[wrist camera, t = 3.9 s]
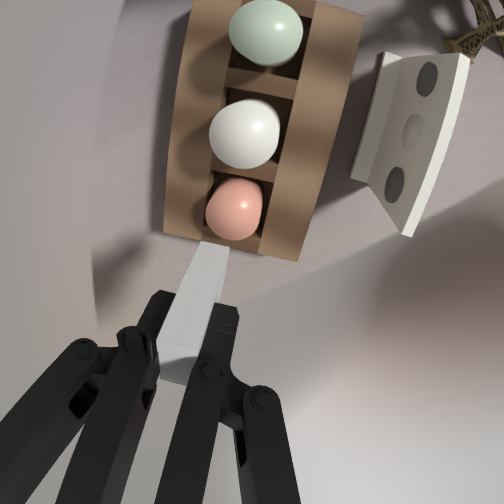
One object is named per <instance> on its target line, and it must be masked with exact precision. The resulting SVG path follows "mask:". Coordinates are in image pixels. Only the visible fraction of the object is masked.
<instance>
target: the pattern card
mask: <svg viewBox="0 0 504 504" xmlns="http://www.w3.org/2000/svg"><path fill="white" fill-rule="evenodd" d="M469 64H470V59H469V58H468V57H466V56H465V55H463V54H461V53H447V54H435V55H425V56H416V57H408V58H401V57H399V56H396V55H394V54H392V53H389V52H387V51H384V52H383V56H382V61H381V65H380V69H379V73H378V77H377V81H376V85H375V89H374V93H373V97H372V100H371V104H370V108H369V111H368V115H367V119H366V122H365V126H364V129H363V133H362V136H361V139H360V143H359V146H358V149H357V153H356V156H355V159H354V162H353V166H352V169H351V172H350V175H349V177H350V178H352V179H355V180H358V181H362V182H365V183H367V184H368V185H369V187H370V188H371V190H372V191H373V192H374V194H375V195H376V197H377V198H378V200H379V201H380V203H381V204H382V205H383V207H384V208H385V210H386V211H387V213H388V214H389V216H390V217H391V219H392V220H393V222H394V224H395V225H396V227H397V228H398V230H399V231H400V233H401V234H402V235H406V236H409V237H412V235H413V233H414V231H415V229H416V226H417V224H418V222H419V220H420V217H421V215H422V213H423V210H424V208H425V206H426V203H427V201H428V198H429V196H430V194H431V191H432V189H433V186H434V183H435V181H436V178H437V176H438V173H439V170H440V167H441V165H442V162H443V159H444V156H445V153H446V150H447V147H448V144H449V141H450V138H451V135H452V132H453V128H454V125H455V122H456V118H457V115H458V111H459V107H460V104H461V100H462V96H463V92H464V88H465V83H466V79H467V74H468V69H469Z"/></svg>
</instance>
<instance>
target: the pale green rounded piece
mask: <svg viewBox="0 0 504 504" xmlns="http://www.w3.org/2000/svg"><path fill="white" fill-rule="evenodd" d="M302 35H303V26H302V22H301V20H300V18H299V16H298V14H297V13H296V12H295V11H294V10H293V9H292V8H291V7H290V6H288V5H287V4H285V3H283V2H280V1H277V0H254V1H251V2H249V3H247V4H245V5H243V6H242V7H240V8H239V9H238V10H237V11H236V12H235V13H234V15H233V16H232V18H231V21H230V24H229V37H230V40H231V42H232V44H233V46H234V47H235V49H236V50H237V51H238V52H239V53H241V54H242V55H243V56H245V57H246V58H248V59H249V60H251V61H252V62H254V63H256V64H257V65H260V66H264V67H277V66H281V65H284V64H286V63H287V62H289V61H290V60H291V59H292V58H293V57H294V56H295V54H296V53H297V51H298V48H299V45H300V42H301V39H302Z"/></svg>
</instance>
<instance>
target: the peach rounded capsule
mask: <svg viewBox="0 0 504 504" xmlns="http://www.w3.org/2000/svg"><path fill="white" fill-rule="evenodd" d="M263 199H264V187H263V184H262V182H261V181H260V180H259V179H255V178H250V177H245V176H240V175H235V174H230V173H229V174H228V175H226V176H225V177H224V178H223V180H222V181H221V183H220V185H219V186H218V188H217V189H216V191H215V193H214V194H213V196H212V198H211V199H210V201H209V203H208V205H207V207H206V213H205V215H206V221H207V224H208V225H209V227H210V229H211V230H212V231H213V232H214V233H215V234H216V235H218V236H220V237H221V238H224V239H227V240H242V239H245V238H247V237H249V236H250V235H252V234H253V233H254V232H255V230H256V229H257V227H258V224H259V220H260V215H261V210H262V204H263Z"/></svg>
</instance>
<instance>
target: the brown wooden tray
mask: <svg viewBox="0 0 504 504" xmlns="http://www.w3.org/2000/svg"><path fill="white" fill-rule="evenodd" d="M251 1H254V0H193V4H192V9H191V13H190V17H189V22H188V27H187V31H186V36H185V41H184V47H183V52H182V57H181V63H180V69H179V75H178V81H177V88H176V94H175V101H174V109H173V116H172V124H171V133H170V142H169V152H168V163H167V174H166V188H165V203H164V223H163V233H167V234H172V235H176V236H181V237H185V238H190V239H194V240H199V241H204V242H209V243H213V244H218V245H222V246H227V247H231V248H235V249H240V250H244V251H249V252H253V253H258V254H263V255H267V256H272V257H276V258H281V259H285V260H290V261H294V262H297V261H298V258H299V255H300V252H301V249H302V246H303V243H304V240H305V237H306V233H307V230H308V227H309V224H310V221H311V218H312V215H313V211H314V208H315V205H316V202H317V198H318V195H319V192H320V188H321V185H322V182H323V178H324V175H325V172H326V168H327V165H328V161H329V158H330V154H331V151H332V147H333V144H334V140H335V137H336V133H337V129H338V126H339V122H340V118H341V115H342V111H343V107H344V103H345V99H346V95H347V92H348V88H349V84H350V80H351V76H352V72H353V67H354V63H355V59H356V55H357V50H358V46H359V42H360V37H361V33H362V28H363V24H364V19H365V15H362V14H359V13H356V12H353V11H350V10H346V9H343V8H340V7H336V6H333V5H329V4H326V3H322V2H318V1H314V0H277V1H280V2H283V3H285V4H287V5H288V6H290V7H291V8H292V9H293V10H294V11H295V12H296V13H297V14H298V16H299V18H300V20H301V22H302V26H303V35H302V39H301V42H300V45H299V48H298V51H297V53H296V54H295V56H294V57H293V58H292V59H291V60H290V61H289V62H287V63H286V64H284V65H281V66H277V67H264V66H260V65H257V64H256V63H254V62H252V61H251V60H249V59H248V58H246V57H245V56H243V55H242V54H241V53H239V52H238V51H237V50H236V49H235V47H234V46H233V44H232V42H231V40H230V37H229V24H230V21H231V18H232V16H233V15H234V13H235V12H236V11H237V10H238V9H239V8H240V7H242V6H243V5H245V4H247V3H249V2H251ZM249 98H256V99H261V100H263V101H266V102H267V103H269V104H270V105H271V106H272V107H273V108H274V109H275V110H276V112H277V113H278V116H279V119H280V132H279V139H278V145H277V148H276V150H275V152H274V154H273V155H272V156H271V157H270V159H269V160H267V161H266V162H265V163H263V164H262V165H260V166H257V167H255V168H250V169H239V168H235V167H232V166H229V165H227V164H225V163H224V162H222V161H221V160H220V159H219V158H218V157H217V156H216V154H215V153H214V151H213V149H212V147H211V144H210V140H209V130H210V126H211V123H212V121H213V119H214V117H215V116H216V115H217V114H218V113H219V111H221V110H222V109H223V108H225V107H227V106H229V105H231V104H234V103H236V102H239V101H241V100H244V99H249ZM229 173H230V174H235V175H240V176H245V177H250V178H255V179H259V180H260V181H261V182H262V184H263V187H264V199H263V204H262V210H261V215H260V220H259V224H258V227H257V229H256V230H255V232H254V233H253V234H252V235H250V236H249V237H247V238H245V239H242V240H227V239H224V238H221V237H220V236H218V235H216V234H215V233H214V232H213V231H212V230H211V229H210V227H209V225H208V224H207V221H206V215H205V213H206V207H207V205H208V203H209V201H210V199H211V198H212V196H213V194H214V193H215V191H216V189H217V188H218V186H219V185H220V183H221V181H222V180H223V178H224V177H225V176H226V175H228V174H229Z"/></svg>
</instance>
